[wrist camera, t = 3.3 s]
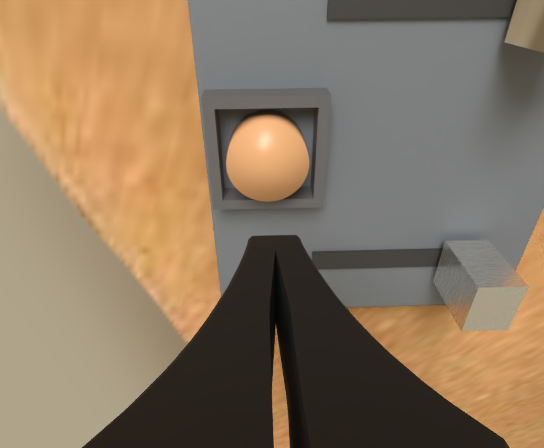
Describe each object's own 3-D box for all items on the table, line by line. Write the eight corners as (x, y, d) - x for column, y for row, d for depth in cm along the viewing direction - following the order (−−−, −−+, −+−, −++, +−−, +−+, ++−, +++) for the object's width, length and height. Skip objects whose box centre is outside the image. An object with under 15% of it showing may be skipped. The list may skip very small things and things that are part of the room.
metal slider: (487, 239, 21) (528, 286, 18) (472, 280, 23) (507, 329, 19) (445, 240, 21) (478, 287, 18) (432, 281, 23) (461, 331, 19)
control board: (674, -165, 14) (760, -195, 11) (488, 287, 26) (511, 318, 23) (176, -163, 13) (158, -194, 11) (224, 294, 25) (221, 326, 23)
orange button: (306, 109, 17) (311, 123, 15) (303, 181, 19) (307, 200, 17) (226, 111, 17) (222, 125, 15) (231, 182, 19) (229, 202, 17)
